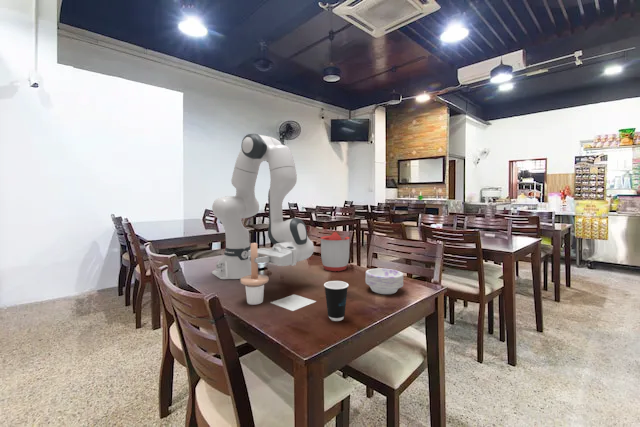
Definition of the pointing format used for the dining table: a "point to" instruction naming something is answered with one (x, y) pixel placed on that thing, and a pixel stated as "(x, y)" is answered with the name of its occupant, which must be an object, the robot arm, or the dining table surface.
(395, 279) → the paper bowls
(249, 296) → the white round tub
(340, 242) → the citrus juicer
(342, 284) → the dixie cup
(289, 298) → the mat
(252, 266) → the peg on round base
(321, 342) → the dining table surface
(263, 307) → the dining table surface
